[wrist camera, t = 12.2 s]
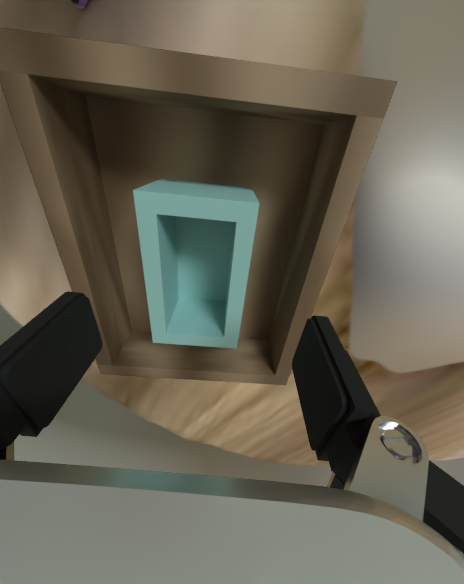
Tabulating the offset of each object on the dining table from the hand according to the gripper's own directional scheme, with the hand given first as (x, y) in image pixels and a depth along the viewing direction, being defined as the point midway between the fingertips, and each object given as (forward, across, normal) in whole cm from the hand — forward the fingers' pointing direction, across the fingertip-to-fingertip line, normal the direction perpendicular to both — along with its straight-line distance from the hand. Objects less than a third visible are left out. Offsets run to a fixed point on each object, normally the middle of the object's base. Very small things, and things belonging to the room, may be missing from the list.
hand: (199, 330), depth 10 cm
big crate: (+10, +1, 0) cm, 10 cm away
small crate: (+9, +1, 0) cm, 9 cm away
